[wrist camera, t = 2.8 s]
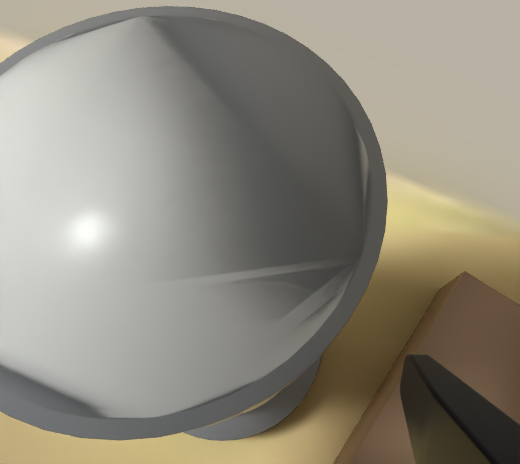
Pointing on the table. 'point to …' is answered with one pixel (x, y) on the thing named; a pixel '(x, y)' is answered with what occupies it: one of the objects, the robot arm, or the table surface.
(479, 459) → the robot arm
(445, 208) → the table surface
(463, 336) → the stand
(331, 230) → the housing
